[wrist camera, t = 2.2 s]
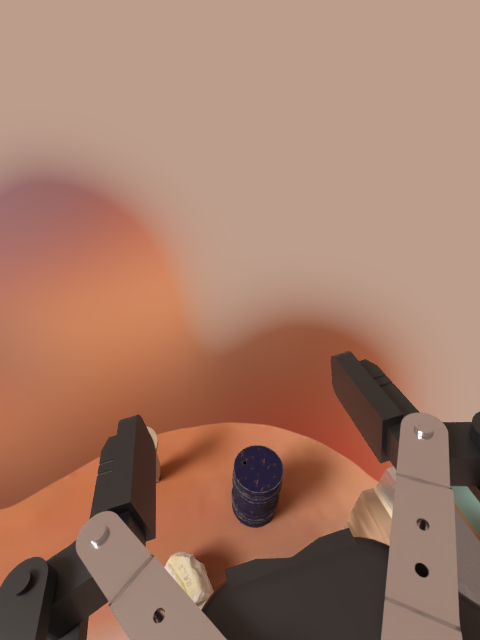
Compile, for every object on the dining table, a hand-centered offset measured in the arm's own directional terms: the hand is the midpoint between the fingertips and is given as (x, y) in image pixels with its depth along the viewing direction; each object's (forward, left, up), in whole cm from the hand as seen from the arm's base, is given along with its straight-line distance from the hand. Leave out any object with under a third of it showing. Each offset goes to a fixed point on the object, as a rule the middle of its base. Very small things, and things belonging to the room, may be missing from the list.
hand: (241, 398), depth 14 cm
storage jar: (+25, +7, -66) cm, 71 cm away
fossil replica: (+4, +10, -66) cm, 67 cm away
